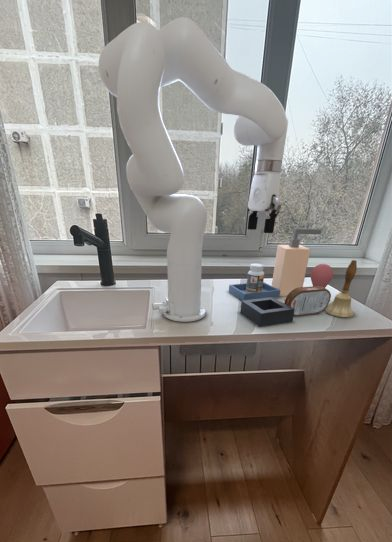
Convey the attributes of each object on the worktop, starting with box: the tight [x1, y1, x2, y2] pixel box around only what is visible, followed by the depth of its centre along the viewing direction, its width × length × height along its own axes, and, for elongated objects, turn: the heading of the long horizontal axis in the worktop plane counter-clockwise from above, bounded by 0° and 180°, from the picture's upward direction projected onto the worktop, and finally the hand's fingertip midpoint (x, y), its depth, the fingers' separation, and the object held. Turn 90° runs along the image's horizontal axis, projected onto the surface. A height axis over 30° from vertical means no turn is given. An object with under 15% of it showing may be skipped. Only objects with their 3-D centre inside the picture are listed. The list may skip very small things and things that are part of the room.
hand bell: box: [324, 259, 358, 318], centre depth 86 cm, size 8×8×16 cm
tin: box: [283, 285, 332, 317], centre depth 86 cm, size 15×3×8 cm, turn 109°
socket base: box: [239, 297, 295, 328], centre depth 84 cm, size 11×11×4 cm
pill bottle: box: [246, 263, 265, 293], centre depth 101 cm, size 6×6×10 cm
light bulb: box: [310, 263, 334, 289], centre depth 98 cm, size 7×7×12 cm
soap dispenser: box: [271, 228, 323, 297], centre depth 102 cm, size 13×9×22 cm
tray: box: [228, 281, 281, 301], centre depth 103 cm, size 14×11×3 cm
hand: (259, 231), depth 93 cm, fingers open, 9 cm apart
